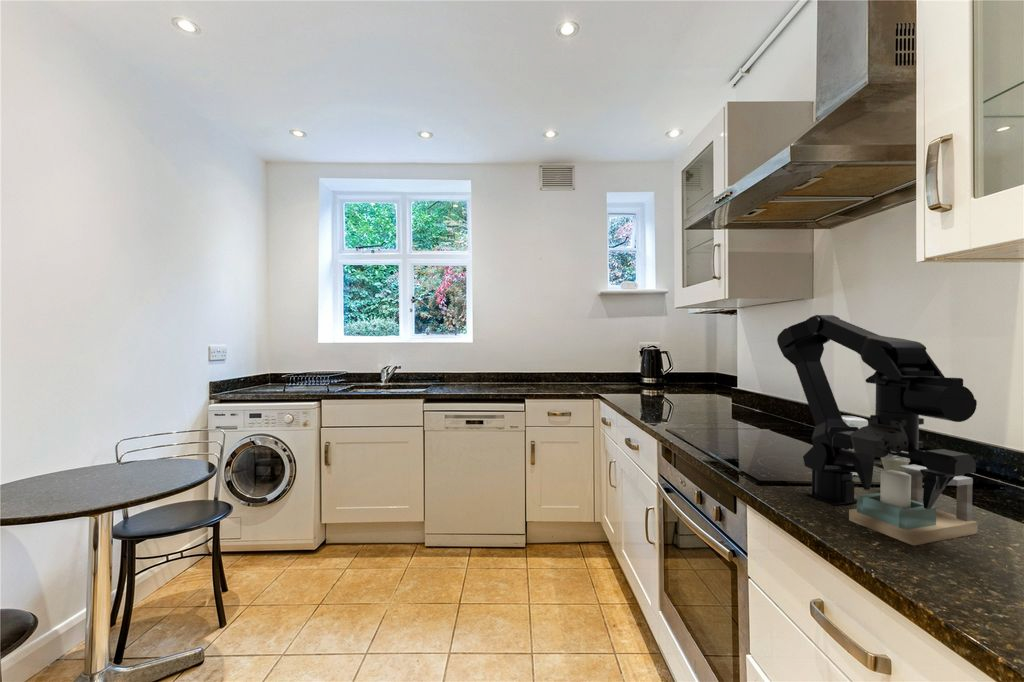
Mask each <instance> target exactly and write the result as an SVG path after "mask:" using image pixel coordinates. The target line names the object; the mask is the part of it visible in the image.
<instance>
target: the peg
mask: <svg viewBox="0 0 1024 682" xmlns="http://www.w3.org/2000/svg"><path fill="white" fill-rule="evenodd" d="M879 485H880V488H879V489H880V492H879V493H880V502H883V503H886V504H889V505H892V506H895V507H898V508H901V509H908V508H911V475H909V473H904V472H899V471H893V470H885V469H881V470H880V484H879Z"/></svg>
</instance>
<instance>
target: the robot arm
mask: <svg viewBox="0 0 1024 682" xmlns="http://www.w3.org/2000/svg"><path fill="white" fill-rule="evenodd" d="M776 340H777V341H776V342H777V345H778V347H779V349H780V351H781V354H782V356H783V358H785V359H786V360H787V361H789V362H790V363H791V364H792V365H793V366H794V367H795V370H796V373H797V376H798V379H799V382H800V385H801V387H802V390H803V394H804V396H805V398H806V401H807V404H808V407H809V410H810V413H811V415H812V418H813V421H814V425H815V426H814V427H815V428H814V430H813V433H812V435H811V443H812V447H810V449H809V450H808V451H807V452H806V453H805V454H804V455H803V456H802V460H803V464H804V467H806V468H809V469H810V470H811V490H810V491H809V490H808V491H806V495H807V496H810V497H813V498H815V499H817V500H821V501H824V502H826V503H829V504H832V505H835V506H837V505H846V504H853V503H857V498H855V481H854V480H853V476H852V473H850V472H856V473H857V474H858V476H857V477H858V478H859V480H860V483H861V485H862V489H864V490H865V491H870V489H871V487H872V483H873V477H874V475H873V473H874V466H875V458H879V459H881V457H885V456H887V455H888V454H892V455H896V456H901V457H905V458H909V459H910V460H913V461H919V462H921V464H922V466H923V467H926V468H927V469H921V470H920V471H921V473H922V475H923V477H922V478H923V490H922V503H923V505H924V508H925V509H930V508H931V507H932V506H933V505H935V503H936V501H937V500H938V498H939V497H940V496H941V494H942V493H943V491H944V490H945V488H947V486H948V485H949V482H950V481H951V480H952V479H953V478H954V477H955V476H965V474H972V473H976V471H977V469H976V467H977V465H976V463H977V462H976V460H975V458H974V457H972V455H971V454H969V453H964V452H959V451H954V450H950V449H949V450H948V449H943V448H941V449H930V450H929V449H928V450H923V448H924V442H923V441H920V440H919V436H920V435H919V434H920V431H919V429H920V427H919V426H920V425H924V424H925V418H922V417H927V418H933V419H938V420H944V421H948V422H955V423H961V422H965V421H967V420H969V419H970V418H971V417H973V415H974V414H975V413H976V410H977V405H978V402H977V399H975V395H974V394H973V392H972V391H971V390H970V389H969V388H968V387H966V386H964V378H962V377H946V376H945V375H944V373H942V371H941V370H940V369H939V367H938V366H937V364H936V363H935V362H934V360H933V359H932V358H931V356H930V355H929V353H928V352H927V347H926V346H925V345H924V344H923V343H921V342H919V341H916V340H911V339H906V338H900V337H890V336H884V335H880V334H877V333H875V332H872V331H869V330H867V329H865V328H862V327H860V326H859V325H855V324H852V323H850V322H849V321H848V322H847V321H846V320H843V319H840V317H839V316H836V315H833V314H815V315H813V316H810V317H809V318H807V319H806V320H804V321H801V322H797V323H795V324H792V325H790V326H788V327H787V328H784V329H782V331H781V332H780V333H779V334H778V335H777V339H776ZM830 341H833V342H835V343H836V344H839V345H841V346H842V347H845V348H847V349H849V350H851V351H853V352H855V353H857V354H859V355H860V358H861V360H862V362H863V363H865V364H866V365H867V366H868V367H870V368H871V369H872V370H874V371H875V372H874V373H873V374H872V375H871V376H869V377H867V378H866V379H865V383H867V384H875V409H874V410H875V414H870V416H869V419H868V426H864V427H862V428H860V429H859V428H858V427H849V426H848V425H847V424H846V423H845V422H844V421H843V419H842V416H843V415H842V414H841V411H840V408H839V406H838V404H837V401H836V399H835V395H834V393H833V391H832V388H831V385H830V383H829V380H828V378H827V375H826V371H825V369H824V367H823V364H822V362H821V358H822V357H823V353H824V350H825V347H824V346H825V344H827V343H828V342H830ZM920 416H922V417H920ZM901 451H903V452H901ZM904 452H908V453H904ZM933 507H934V506H933Z"/></svg>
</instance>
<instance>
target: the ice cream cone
mask: <svg viewBox="0 0 1024 682" xmlns="http://www.w3.org/2000/svg"><path fill="white" fill-rule="evenodd" d="M901 452H903V451H901ZM904 453H908V452H904ZM880 461H881V463H882V466H883V470H893V471H899V466H903V465H910V462H911V459H909V458H905V457H901V456H896V455H892V454H888V455H887V456H885V457H881V458H880ZM899 472H901V471H899ZM904 473H905V472H904Z"/></svg>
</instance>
